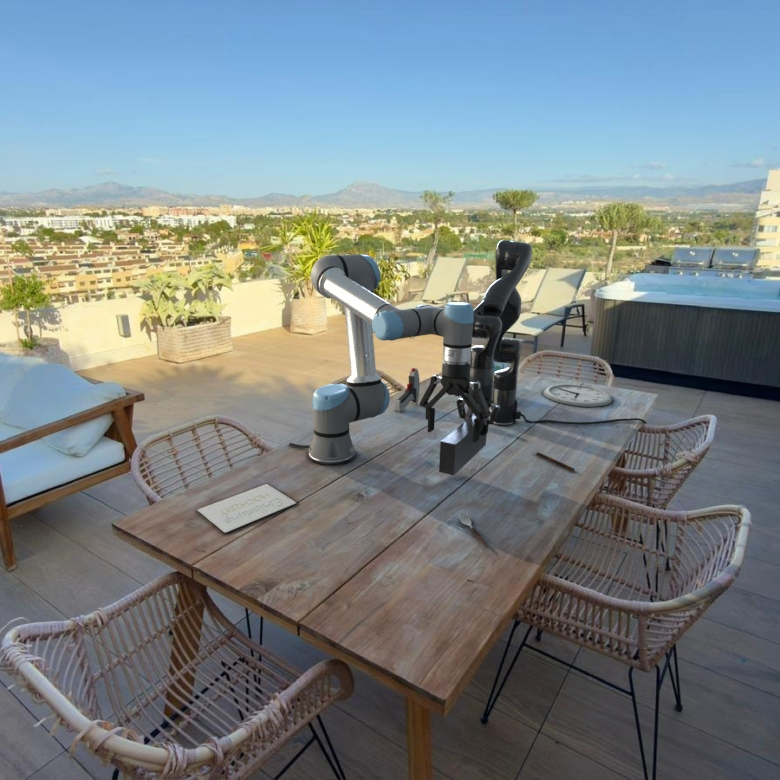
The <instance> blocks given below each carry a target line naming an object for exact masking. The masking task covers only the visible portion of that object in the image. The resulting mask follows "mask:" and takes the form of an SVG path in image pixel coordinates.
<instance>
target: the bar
mask: <svg viewBox="0 0 780 780" xmlns="http://www.w3.org/2000/svg"><path fill="white" fill-rule="evenodd" d="M475 418H476V416H475V415H474V414H473V415H472V417H471V418H469V419H468V420H467V421H466V422H465V421H464V422H463V423H461V424H460V425H459V426H458V427H457V428H455V429H454V430H453V431H452V432H450V433H449V434H447V436H445V437H444V438H443V439H441V440H440V441H439V442H440V444H439V463H438V465H439V466H438V472H439V473H441V474H447V475H450V476H455V475H456V474H457V473H458V472H459V471H460V470H462V468H464V466H466V465H467V464H468V463H469V462H470V461H471V460H472V459H473V458H474V457H475V456H476V455H477V454H479V452H480V451H481V450H482V449H483V448H484V447H485V446H487V435H488V433H487V434H486V435H485V436H482V430H481V431H479V440H478V441H476V442H473V427H474V419H475Z"/></svg>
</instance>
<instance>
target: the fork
mask: <svg viewBox="0 0 780 780" xmlns="http://www.w3.org/2000/svg"><path fill="white" fill-rule="evenodd" d="M457 512H458V516H459V519H460V521H461V523H462V524H463V525H464V526H468V527H469V528H470V529H471V531H472V533H473V534H474V537H476V539H478V541H480V543H481V544H482V545H483V546H484V547H485V548H486V549H489V547H488V545H487V543H486V541H485V540H484V539H483V537H482V535H481V534H480V532H479V531H477V529H475V528H474V527H473V525H472V519H471V518H470V516H469V514H468V511H467V510H464V509H462V510H459V509H457ZM465 512H466V513H465Z"/></svg>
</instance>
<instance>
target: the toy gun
mask: <svg viewBox="0 0 780 780" xmlns="http://www.w3.org/2000/svg"><path fill="white" fill-rule="evenodd" d="M420 380H421V379H420V373H419V370H418V368H416V367H412V368H411V369H410V371H409V375H408V383H406V389H405V391H404V393H403V394H402V395H400V396H399V398H398V399H397V398H396V399H395V400H394V411H395V412H400V413H401V412H402V411H403V410H404V409H406V408H407V407H408V405H409V404H410V403H411V402H412V404H415V405H418V403H419V397H420V389H421V388H420V384H421V383H420V382H421V381H420Z"/></svg>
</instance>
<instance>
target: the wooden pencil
mask: <svg viewBox="0 0 780 780" xmlns="http://www.w3.org/2000/svg"><path fill="white" fill-rule="evenodd" d="M535 455H536V456H538V457H541V458H543V459H545V460H547V461H549V462H552V463H553V464H555V465H558V466H560V467H562V468H564V469H566V470H569V471H571V472H575V468H574V467H572V466H570V465H567V464H566V463H564V462H561V461H558V460H557V459H554V458H552V457H549V456H548V455H546V454H543V453H541V452H539V451H537V452H536V454H535Z"/></svg>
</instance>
